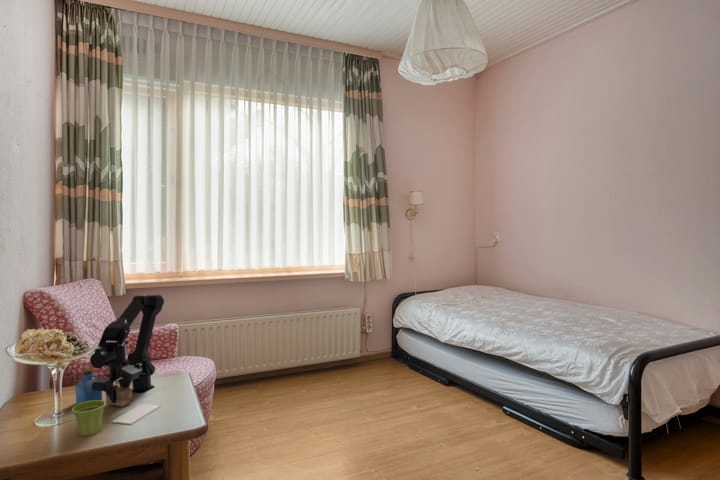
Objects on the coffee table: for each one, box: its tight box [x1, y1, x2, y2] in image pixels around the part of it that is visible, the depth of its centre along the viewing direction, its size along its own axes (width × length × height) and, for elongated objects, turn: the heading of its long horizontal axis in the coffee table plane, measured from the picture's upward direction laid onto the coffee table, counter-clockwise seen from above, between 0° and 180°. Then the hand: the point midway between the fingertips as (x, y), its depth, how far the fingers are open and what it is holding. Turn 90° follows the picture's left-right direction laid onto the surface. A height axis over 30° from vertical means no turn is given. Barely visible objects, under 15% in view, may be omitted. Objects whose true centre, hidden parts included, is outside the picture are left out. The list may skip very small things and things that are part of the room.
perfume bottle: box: [75, 368, 103, 405], centre depth 167 cm, size 6×6×12 cm
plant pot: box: [71, 399, 107, 436], centre depth 143 cm, size 9×9×9 cm
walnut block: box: [105, 386, 134, 407], centre depth 164 cm, size 4×8×5 cm, turn 69°
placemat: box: [111, 403, 161, 426], centre depth 155 cm, size 14×8×1 cm, turn 165°
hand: (119, 400), depth 164 cm, fingers closed on walnut block, 5 cm apart
